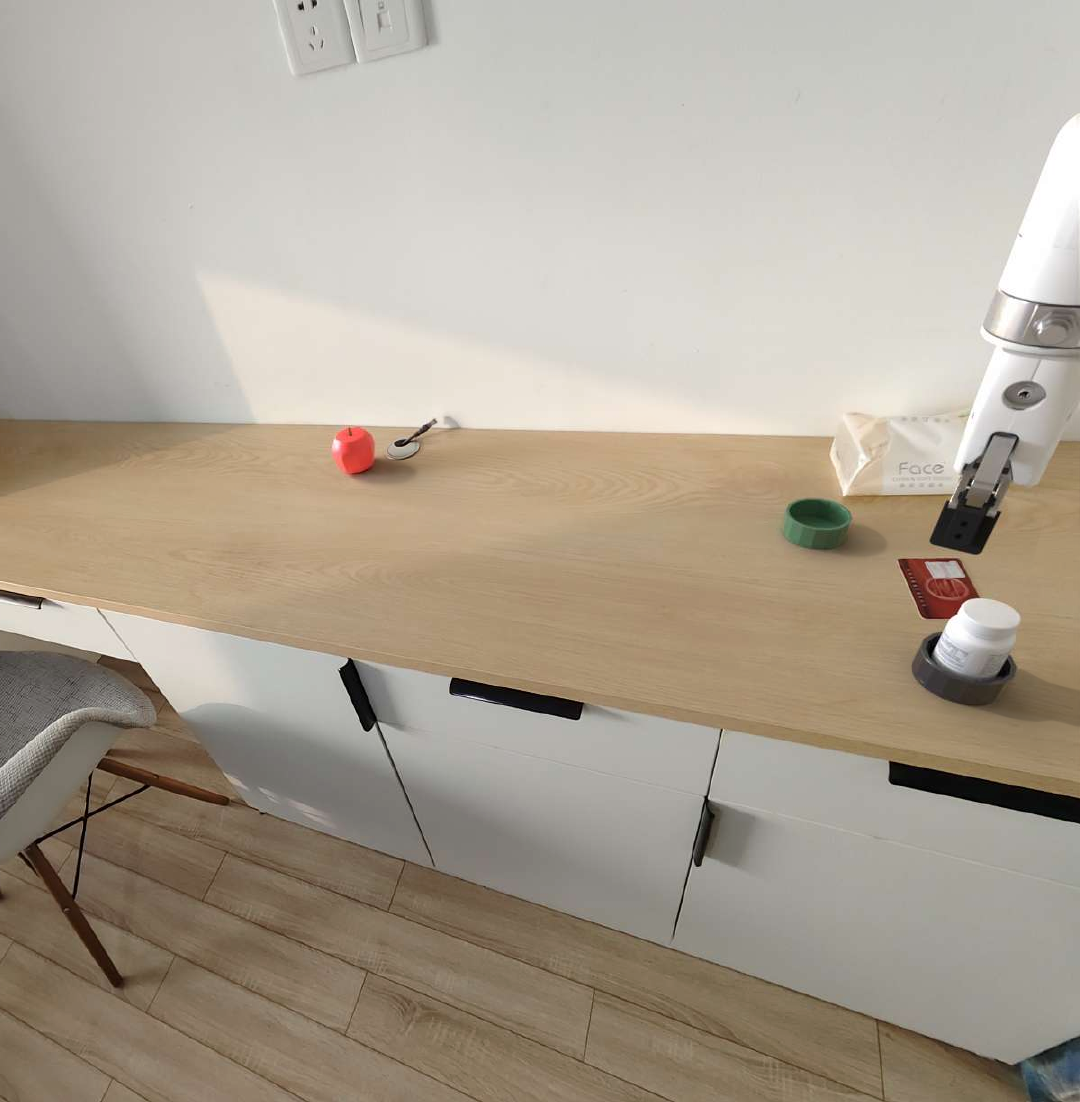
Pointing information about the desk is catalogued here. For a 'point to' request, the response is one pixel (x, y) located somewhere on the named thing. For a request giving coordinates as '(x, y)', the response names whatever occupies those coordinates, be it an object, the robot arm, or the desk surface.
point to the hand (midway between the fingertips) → (968, 516)
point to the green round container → (816, 523)
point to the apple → (353, 450)
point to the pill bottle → (977, 640)
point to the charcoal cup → (958, 678)
